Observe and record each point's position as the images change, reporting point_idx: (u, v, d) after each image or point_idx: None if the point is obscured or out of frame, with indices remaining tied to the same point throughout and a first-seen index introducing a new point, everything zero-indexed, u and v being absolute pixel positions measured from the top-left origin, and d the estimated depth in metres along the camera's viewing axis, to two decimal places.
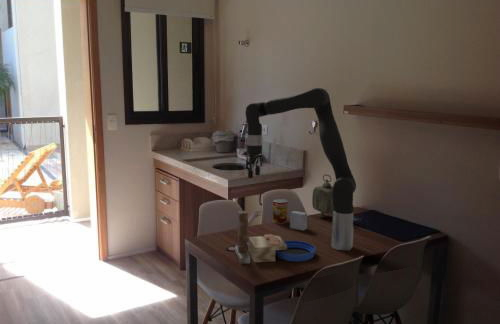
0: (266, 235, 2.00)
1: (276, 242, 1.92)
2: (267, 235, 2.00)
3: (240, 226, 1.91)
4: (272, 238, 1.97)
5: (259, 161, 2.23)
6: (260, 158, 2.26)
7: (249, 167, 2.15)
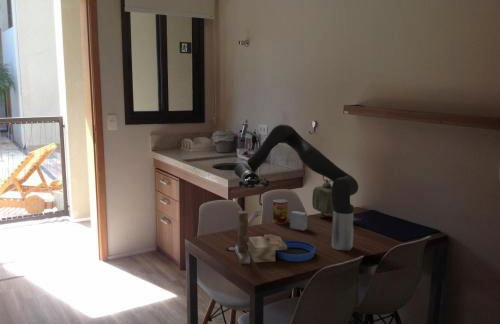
0: (266, 235, 2.00)
1: (276, 242, 1.92)
2: (267, 235, 2.00)
3: (240, 226, 1.91)
4: (272, 238, 1.97)
5: (258, 178, 2.15)
6: (264, 179, 2.17)
7: None
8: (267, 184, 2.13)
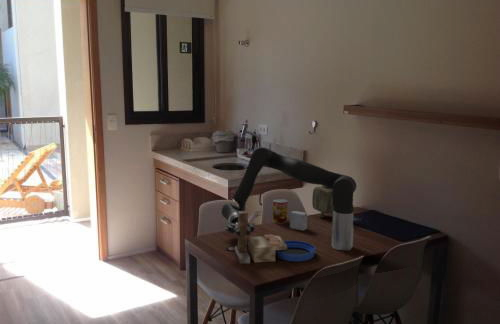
0: (266, 235, 2.00)
1: (276, 242, 1.92)
2: (267, 235, 2.00)
3: (240, 226, 1.91)
4: (272, 238, 1.97)
5: None
6: None
7: (231, 228, 1.95)
8: (251, 231, 1.95)
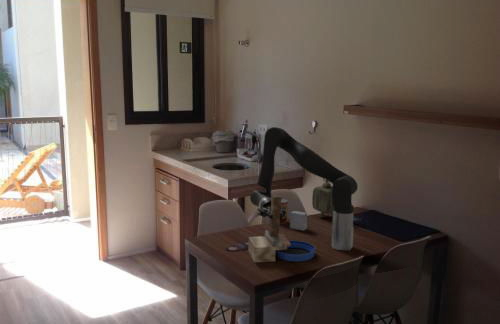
0: None
1: (287, 242, 1.92)
2: None
3: (273, 210, 1.92)
4: (280, 238, 1.97)
5: None
6: (283, 209, 2.01)
7: None
8: (283, 215, 1.97)
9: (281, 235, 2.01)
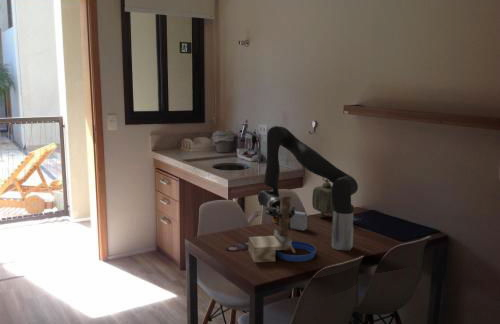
0: None
1: None
2: None
3: (282, 209, 1.93)
4: None
5: None
6: (292, 208, 2.01)
7: None
8: (292, 214, 1.97)
9: None
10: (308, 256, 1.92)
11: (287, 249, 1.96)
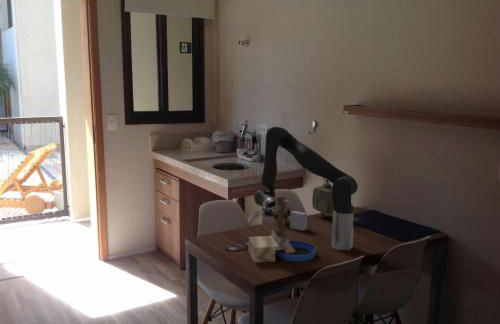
0: None
1: (291, 249, 1.93)
2: None
3: (278, 210, 1.93)
4: None
5: None
6: (287, 209, 2.01)
7: None
8: (288, 214, 1.97)
9: None
10: (308, 256, 1.92)
11: None
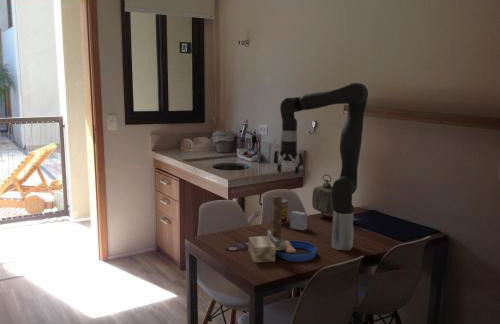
0: None
1: (292, 249, 1.94)
2: None
3: (274, 210, 1.92)
4: None
5: (292, 159, 2.13)
6: (299, 157, 2.12)
7: None
8: None
9: (286, 242, 2.02)
10: (309, 255, 1.92)
11: None
